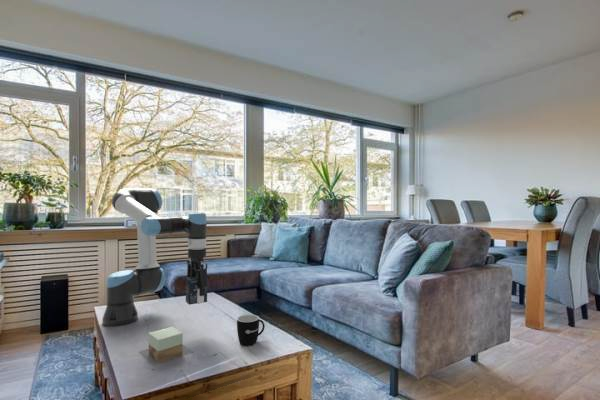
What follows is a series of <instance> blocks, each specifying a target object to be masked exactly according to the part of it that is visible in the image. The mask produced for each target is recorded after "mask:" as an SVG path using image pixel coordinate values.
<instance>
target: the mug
mask: <svg viewBox="0 0 600 400" xmlns="http://www.w3.org/2000/svg"><path fill="white" fill-rule="evenodd" d="M260 323H261V324H262V329H261V330H260V329H259V328H260ZM265 325H266V324H265V322H264V321H263V320H261V319H260V316H258V315H256V314H243V315H239V316H238V317H237V318H236V331H237V337H238V342H239V345H241V346H243V347H250V346H251V347H252V346H254V345H256V343H257V341H258V337H259V336H260V335H262V334H263V332H264V330H265V328H266V327H265ZM259 330H260V332H259Z"/></svg>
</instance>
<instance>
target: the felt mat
mask: <svg viewBox="0 0 600 400" xmlns="http://www.w3.org/2000/svg"><path fill="white" fill-rule="evenodd" d="M192 353H194V351H193V350H192V349H190V348H188V347H187V346H185V345H184V344H183V354H182V355H179V356H176V357H173V358H170V359H167V360H165V361H162V362H159V363H158V362H157V361H156V360H155V359H153V358H152V357H151V356H150V355H149V348H147V349H142V350H140V351H138V354H140V355H141V356H142V358H144V359H146V361H148V362H149V363H150V364H151V365H152V366H156V365H159V364H163V363H166V362H168V361H171V360H174V359H175V360H176V359H177V358H180V357H183V356H186V355H189V354H192Z"/></svg>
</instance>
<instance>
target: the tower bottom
mask: <svg viewBox="0 0 600 400" xmlns="http://www.w3.org/2000/svg"><path fill="white" fill-rule="evenodd" d="M183 345H184V344H180V345H177V346H174V347H171V348H167V349H164V350H161V351H157V350H156V349H155V348H153V347H152V346H151V345H150V344H149V343H148V349H149V355H150V356H151V357H152V358H153V359H155V360H156V361H157V362H158V363H159V362H162V361H165V360H167V359H170V358H173V357H176V356H179V355H182V354H183Z"/></svg>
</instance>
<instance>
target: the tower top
mask: <svg viewBox="0 0 600 400" xmlns="http://www.w3.org/2000/svg"><path fill="white" fill-rule="evenodd" d="M183 335H184V334H183V332H182V331H180V330H178V329H177V328H175V327H173V326H170V327H169V326H168V327H166V328H162V329H158V330H156V331H150V332H148V345H149V344H150V345H151V346H152V347H153V348H155V349H156V350H157V351H161V350H164V349H167V348H171V347H174V346H177V345H180V344H183V341H184V340H183ZM183 345H184V344H183Z"/></svg>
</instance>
